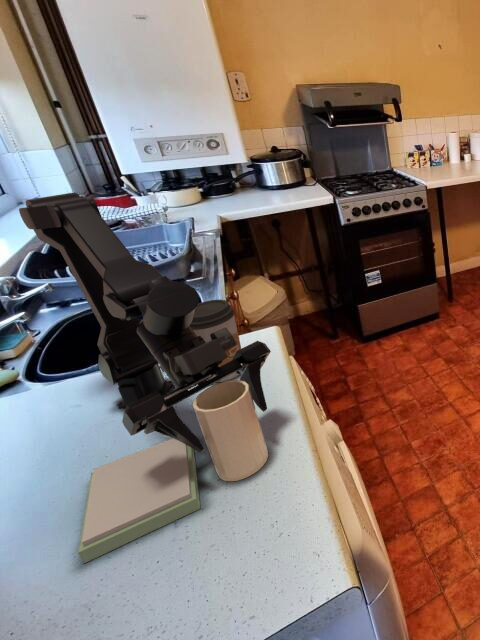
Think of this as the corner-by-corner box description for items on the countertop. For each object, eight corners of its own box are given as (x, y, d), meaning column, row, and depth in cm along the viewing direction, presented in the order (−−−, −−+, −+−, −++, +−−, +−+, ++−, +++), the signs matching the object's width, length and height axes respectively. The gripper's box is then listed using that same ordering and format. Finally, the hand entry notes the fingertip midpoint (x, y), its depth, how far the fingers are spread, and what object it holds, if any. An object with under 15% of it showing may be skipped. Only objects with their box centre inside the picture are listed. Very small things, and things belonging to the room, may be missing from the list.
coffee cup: (228, 388, 84) (206, 320, 79) (192, 383, 86) (168, 317, 81) (259, 363, 92) (241, 299, 86) (225, 359, 94) (206, 296, 88)
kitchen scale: (96, 480, 65) (89, 466, 64) (193, 442, 72) (188, 428, 71) (84, 563, 54) (75, 548, 53) (200, 508, 60) (194, 493, 59)
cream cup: (230, 448, 70) (208, 382, 65) (274, 443, 71) (256, 377, 66) (209, 484, 64) (182, 413, 59) (258, 478, 65) (235, 408, 60)
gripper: (99, 355, 53) (171, 459, 52) (249, 295, 68) (308, 374, 67) (97, 388, 60) (160, 480, 59) (234, 326, 75) (287, 399, 74)
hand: (235, 429), depth 64 cm, fingers open, 9 cm apart
